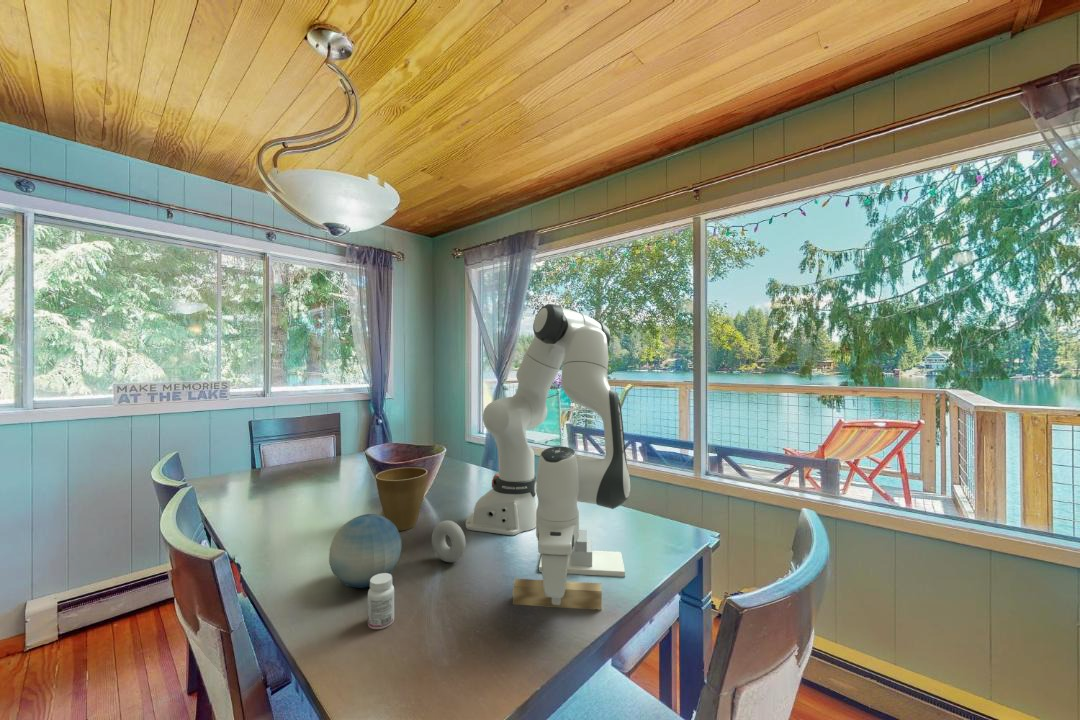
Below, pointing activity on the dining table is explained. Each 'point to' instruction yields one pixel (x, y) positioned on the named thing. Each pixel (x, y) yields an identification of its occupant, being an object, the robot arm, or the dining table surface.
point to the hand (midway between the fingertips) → (557, 594)
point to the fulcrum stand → (593, 560)
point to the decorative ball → (364, 550)
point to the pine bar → (573, 597)
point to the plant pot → (402, 495)
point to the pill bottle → (381, 601)
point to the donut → (456, 537)
